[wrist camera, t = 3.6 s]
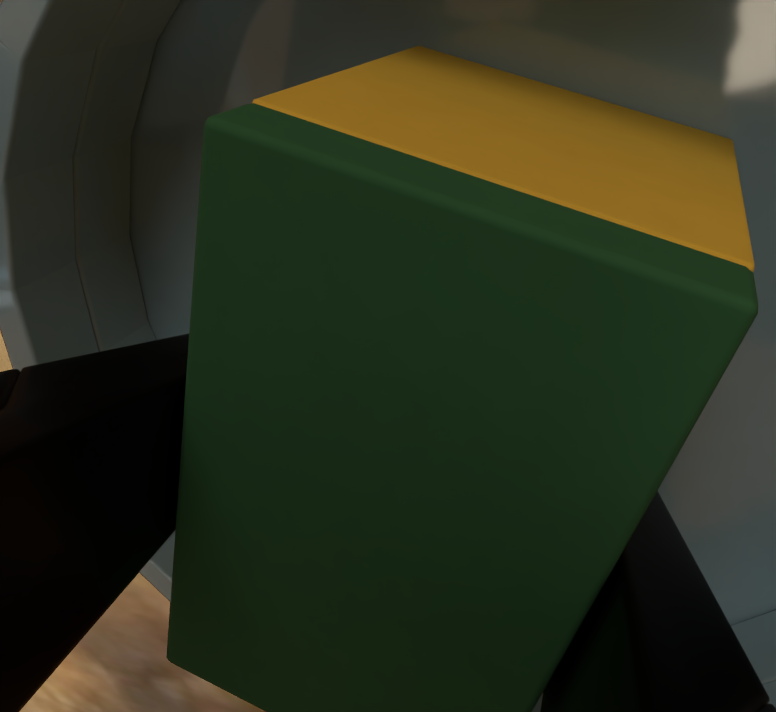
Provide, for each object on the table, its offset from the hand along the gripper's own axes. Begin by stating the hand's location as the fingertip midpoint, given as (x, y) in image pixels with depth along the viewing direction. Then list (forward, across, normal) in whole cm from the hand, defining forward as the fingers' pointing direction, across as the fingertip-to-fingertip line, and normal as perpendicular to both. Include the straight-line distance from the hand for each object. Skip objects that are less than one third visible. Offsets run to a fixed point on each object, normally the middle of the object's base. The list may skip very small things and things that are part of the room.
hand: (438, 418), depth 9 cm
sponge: (+3, 0, 0) cm, 3 cm away
